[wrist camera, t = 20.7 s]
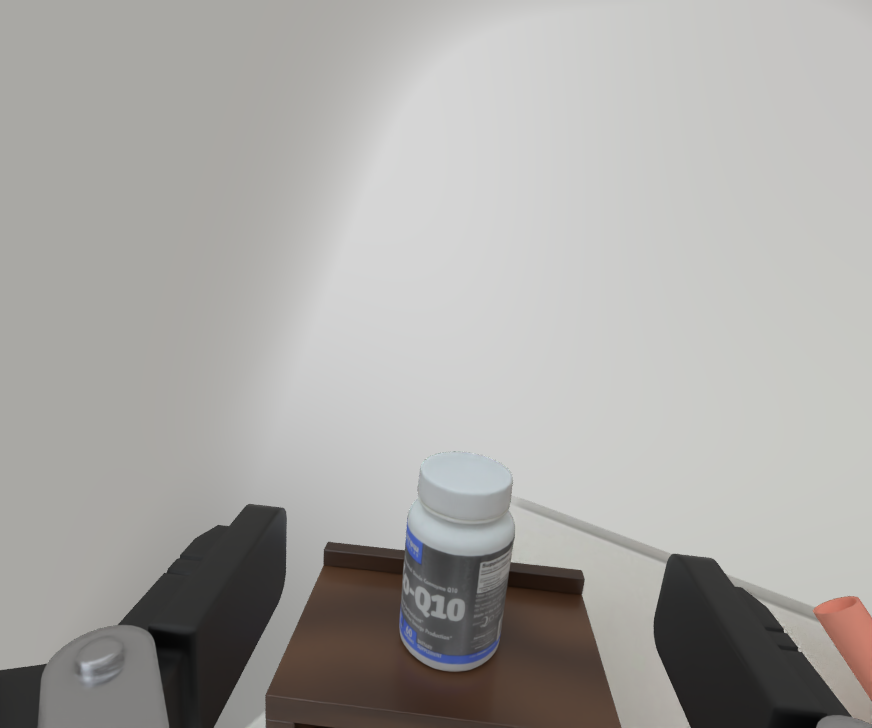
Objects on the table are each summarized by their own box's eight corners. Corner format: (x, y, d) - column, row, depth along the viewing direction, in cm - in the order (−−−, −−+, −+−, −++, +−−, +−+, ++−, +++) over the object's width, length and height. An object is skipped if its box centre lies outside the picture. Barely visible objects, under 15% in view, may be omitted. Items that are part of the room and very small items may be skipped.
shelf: (579, 955, 23) (630, 720, 20) (265, 910, 24) (264, 674, 20) (549, 756, 32) (582, 569, 28) (321, 726, 32) (327, 541, 29)
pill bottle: (377, 633, 24) (387, 466, 22) (442, 586, 28) (456, 438, 25) (458, 696, 21) (478, 510, 19) (519, 634, 25) (542, 472, 23)
